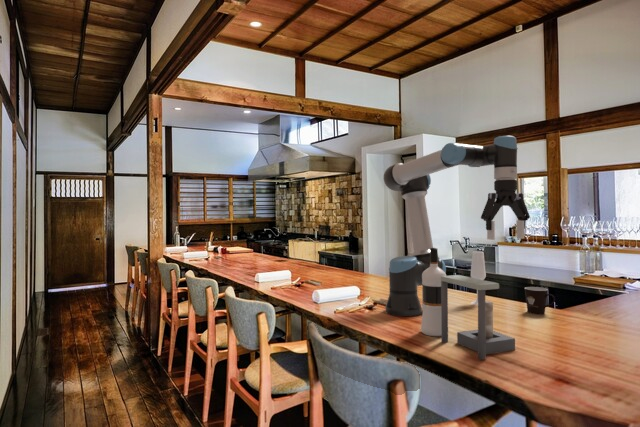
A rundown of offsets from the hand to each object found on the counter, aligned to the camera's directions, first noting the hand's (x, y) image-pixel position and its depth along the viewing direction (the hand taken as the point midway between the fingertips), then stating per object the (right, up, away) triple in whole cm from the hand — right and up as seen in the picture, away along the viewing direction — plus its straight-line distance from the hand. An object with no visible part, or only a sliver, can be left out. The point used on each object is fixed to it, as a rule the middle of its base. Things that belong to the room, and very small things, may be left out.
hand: (505, 239), depth 147 cm
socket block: (-14, -33, -18) cm, 40 cm away
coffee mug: (+24, -33, +24) cm, 47 cm away
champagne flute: (+7, -33, +43) cm, 55 cm away
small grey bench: (-21, -33, -20) cm, 43 cm away
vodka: (-27, -33, -3) cm, 43 cm away
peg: (-14, -33, -17) cm, 40 cm away
